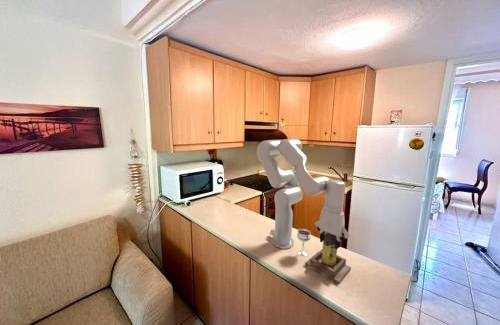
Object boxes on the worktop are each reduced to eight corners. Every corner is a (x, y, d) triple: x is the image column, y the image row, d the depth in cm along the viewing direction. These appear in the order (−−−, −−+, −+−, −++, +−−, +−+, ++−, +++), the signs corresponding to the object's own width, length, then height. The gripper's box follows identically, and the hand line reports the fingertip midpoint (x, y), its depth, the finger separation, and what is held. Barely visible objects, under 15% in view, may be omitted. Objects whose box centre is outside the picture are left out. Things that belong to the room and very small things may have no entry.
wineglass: (296, 248, 110) (298, 227, 108) (309, 251, 107) (311, 230, 105) (294, 255, 103) (296, 233, 101) (308, 258, 101) (310, 236, 99)
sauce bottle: (330, 271, 90) (334, 229, 87) (318, 263, 95) (321, 224, 92) (338, 265, 94) (342, 225, 91) (326, 258, 99) (329, 220, 96)
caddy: (304, 265, 96) (305, 256, 95) (318, 254, 105) (319, 246, 104) (338, 284, 85) (339, 275, 84) (350, 270, 93) (351, 261, 93)
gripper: (311, 204, 93) (308, 239, 96) (350, 216, 81) (345, 257, 84) (319, 200, 98) (316, 234, 101) (357, 211, 86) (352, 249, 89)
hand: (329, 244), depth 93 cm, fingers open, 6 cm apart
